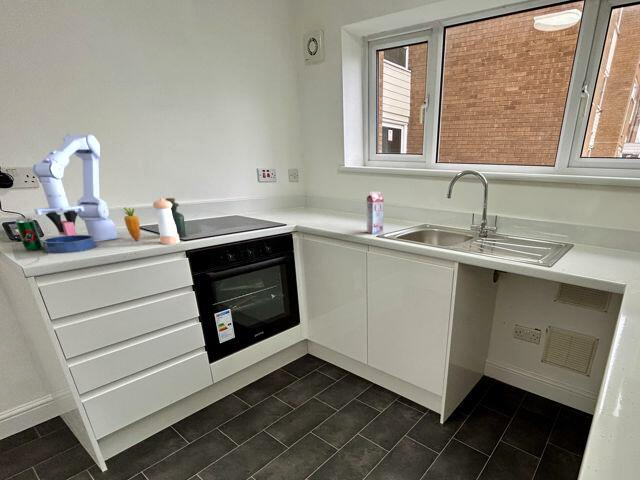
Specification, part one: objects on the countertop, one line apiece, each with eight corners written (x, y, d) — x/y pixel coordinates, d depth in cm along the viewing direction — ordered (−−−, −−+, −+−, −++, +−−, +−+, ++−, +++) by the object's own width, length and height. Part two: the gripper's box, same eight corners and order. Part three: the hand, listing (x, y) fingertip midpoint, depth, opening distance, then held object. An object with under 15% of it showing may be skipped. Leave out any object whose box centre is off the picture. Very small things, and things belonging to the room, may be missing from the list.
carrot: (146, 240, 159) (138, 207, 153) (135, 242, 154) (126, 208, 149) (138, 239, 160) (130, 206, 155) (127, 241, 156) (118, 207, 150)
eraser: (68, 233, 142) (64, 220, 140) (77, 234, 140) (73, 222, 138) (59, 234, 140) (55, 221, 138) (67, 236, 137) (63, 223, 136)
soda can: (46, 248, 141) (36, 218, 136) (33, 251, 136) (22, 220, 131) (35, 247, 141) (24, 217, 137) (21, 250, 136) (10, 219, 132)
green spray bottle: (169, 239, 164) (161, 199, 157) (166, 236, 170) (158, 197, 163) (189, 237, 169) (182, 198, 162) (185, 234, 174) (178, 197, 168)
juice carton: (383, 232, 196) (383, 192, 188) (372, 233, 192) (372, 192, 184) (376, 230, 201) (377, 191, 193) (366, 231, 197) (366, 191, 189)
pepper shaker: (177, 244, 155) (168, 199, 148) (158, 244, 153) (148, 199, 146) (181, 240, 161) (173, 197, 155) (163, 241, 159) (154, 197, 153)
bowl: (82, 242, 151) (80, 233, 150) (104, 247, 146) (101, 237, 144) (37, 249, 138) (34, 239, 137) (58, 254, 133) (55, 244, 131)
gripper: (37, 197, 127) (49, 235, 132) (84, 195, 139) (93, 229, 144) (26, 196, 129) (39, 233, 134) (74, 194, 142) (84, 227, 147)
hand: (67, 231), depth 139 cm, fingers closed on eraser, 3 cm apart
